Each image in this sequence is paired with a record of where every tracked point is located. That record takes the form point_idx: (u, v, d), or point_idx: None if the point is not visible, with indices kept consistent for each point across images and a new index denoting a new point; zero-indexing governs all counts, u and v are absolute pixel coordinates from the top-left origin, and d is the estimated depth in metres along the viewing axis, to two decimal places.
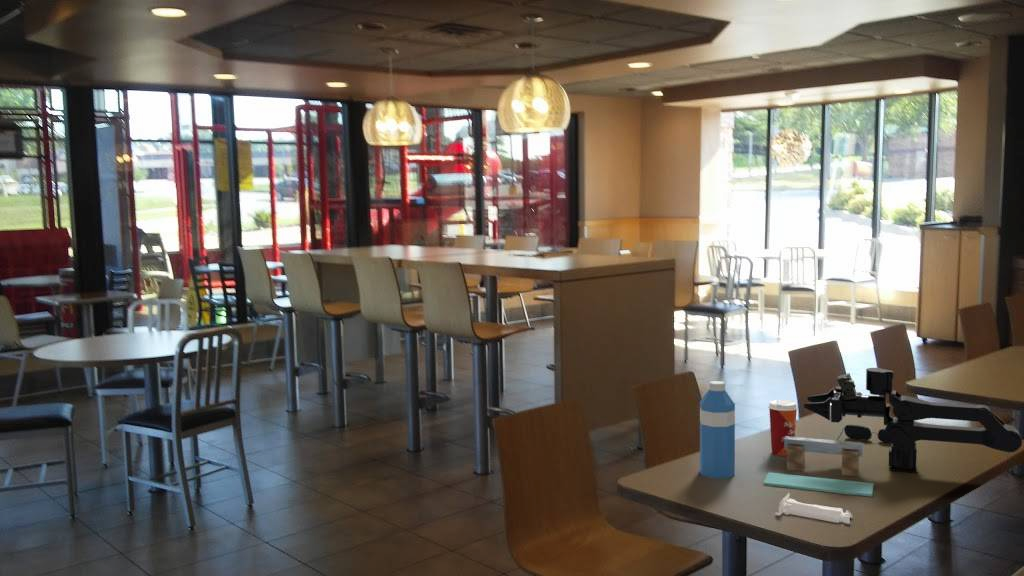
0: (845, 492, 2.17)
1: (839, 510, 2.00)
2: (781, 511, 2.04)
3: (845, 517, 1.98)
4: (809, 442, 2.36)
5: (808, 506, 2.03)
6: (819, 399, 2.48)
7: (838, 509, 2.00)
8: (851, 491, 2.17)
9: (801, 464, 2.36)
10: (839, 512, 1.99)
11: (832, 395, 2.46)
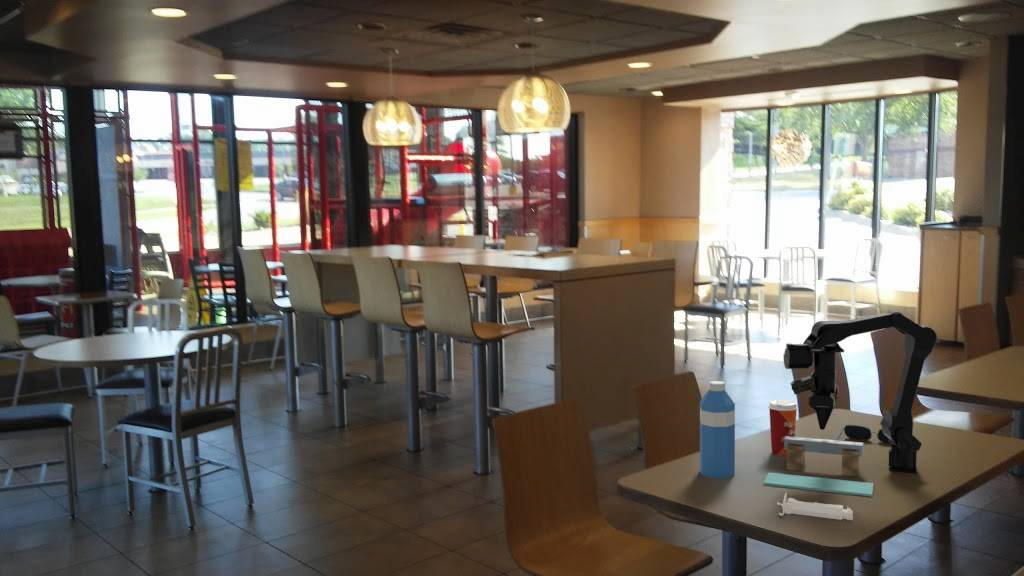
0: (845, 492, 2.17)
1: (841, 507, 2.02)
2: (784, 511, 2.04)
3: (848, 514, 2.00)
4: (809, 442, 2.36)
5: (810, 504, 2.04)
6: None
7: (839, 506, 2.02)
8: (851, 491, 2.17)
9: (801, 464, 2.36)
10: (841, 509, 2.01)
11: None
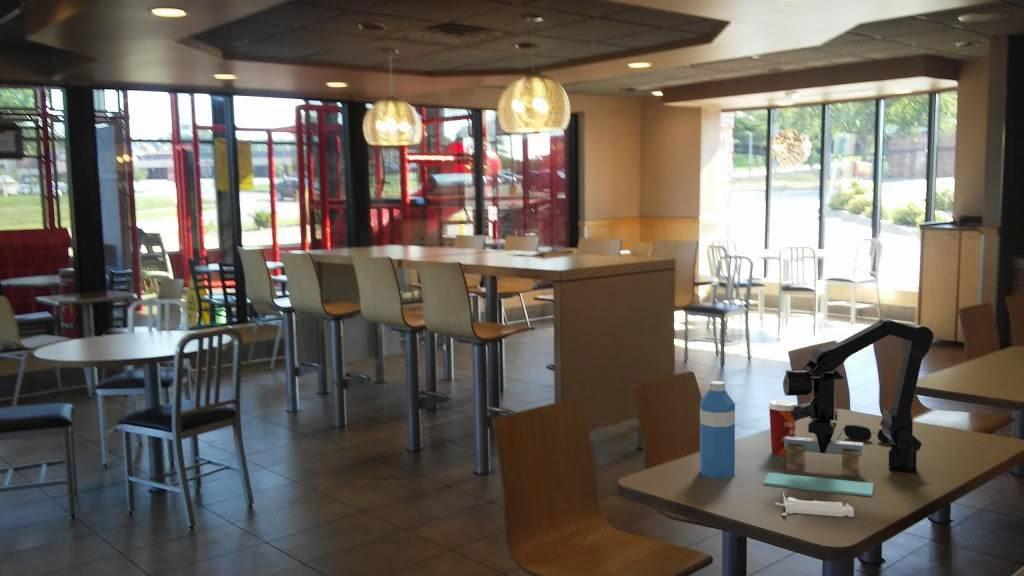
0: (845, 492, 2.17)
1: (841, 504, 2.04)
2: (786, 511, 2.04)
3: (849, 510, 2.02)
4: (809, 442, 2.36)
5: (810, 503, 2.05)
6: None
7: (839, 503, 2.04)
8: (851, 491, 2.17)
9: (801, 464, 2.36)
10: (842, 506, 2.03)
11: None
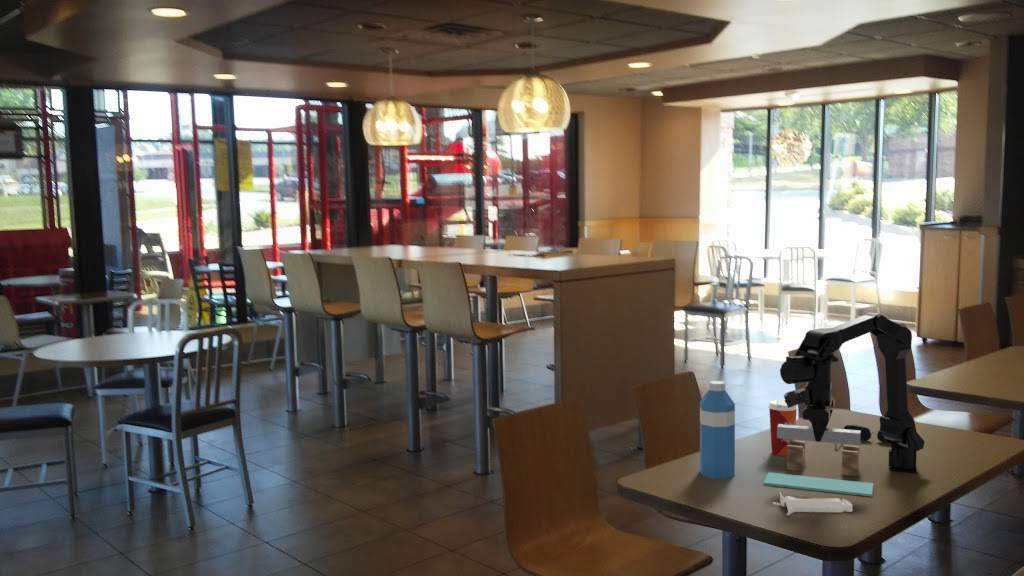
0: (845, 492, 2.17)
1: (839, 500, 2.06)
2: None
3: (848, 506, 2.05)
4: (803, 430, 2.23)
5: (810, 501, 2.06)
6: None
7: (837, 499, 2.07)
8: (851, 491, 2.17)
9: (801, 464, 2.36)
10: (840, 502, 2.06)
11: None
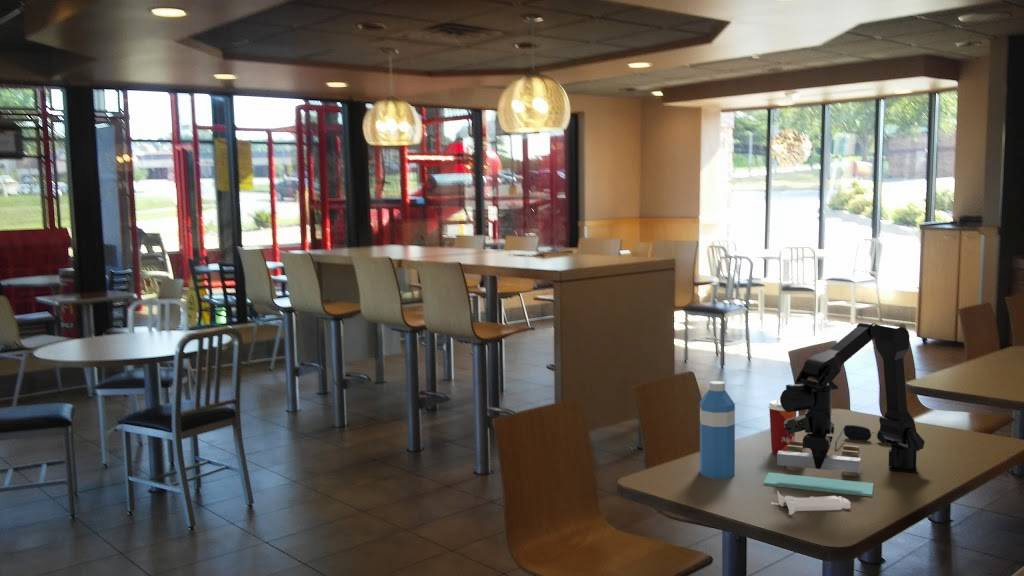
0: (845, 492, 2.17)
1: (837, 497, 2.08)
2: None
3: (846, 503, 2.07)
4: (803, 457, 2.23)
5: (809, 499, 2.07)
6: None
7: (834, 497, 2.09)
8: (851, 491, 2.17)
9: None
10: (839, 499, 2.07)
11: None
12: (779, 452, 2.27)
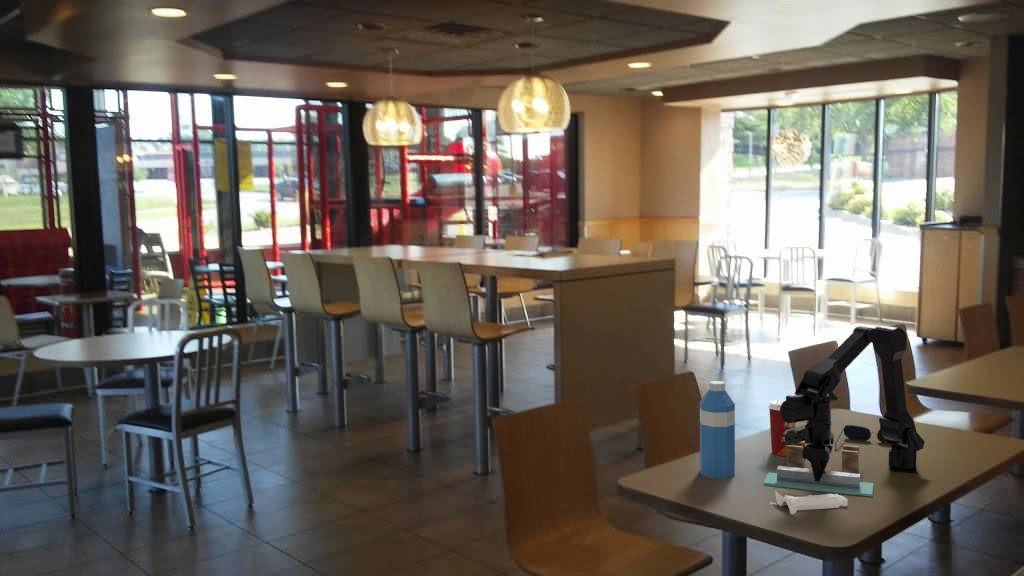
0: (845, 492, 2.17)
1: (834, 495, 2.10)
2: None
3: (843, 500, 2.08)
4: (803, 473, 2.24)
5: (808, 498, 2.08)
6: None
7: (831, 495, 2.10)
8: (851, 491, 2.17)
9: (801, 464, 2.36)
10: (836, 497, 2.09)
11: None
12: (779, 467, 2.27)
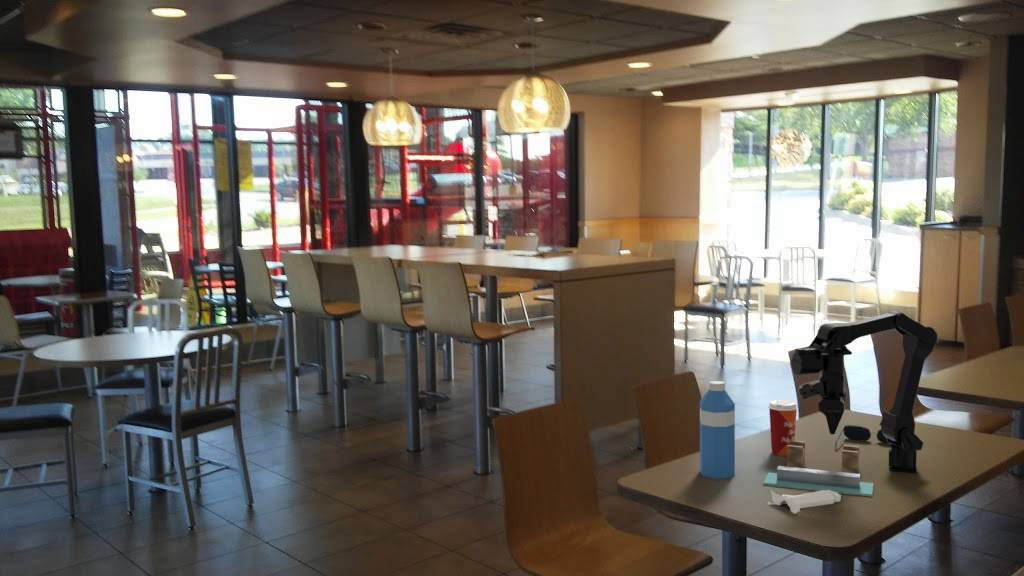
0: (845, 492, 2.17)
1: (827, 492, 2.12)
2: None
3: (837, 496, 2.11)
4: (803, 473, 2.24)
5: (805, 496, 2.10)
6: None
7: (825, 491, 2.13)
8: (851, 491, 2.17)
9: (801, 464, 2.36)
10: (830, 493, 2.12)
11: None
12: (779, 467, 2.27)
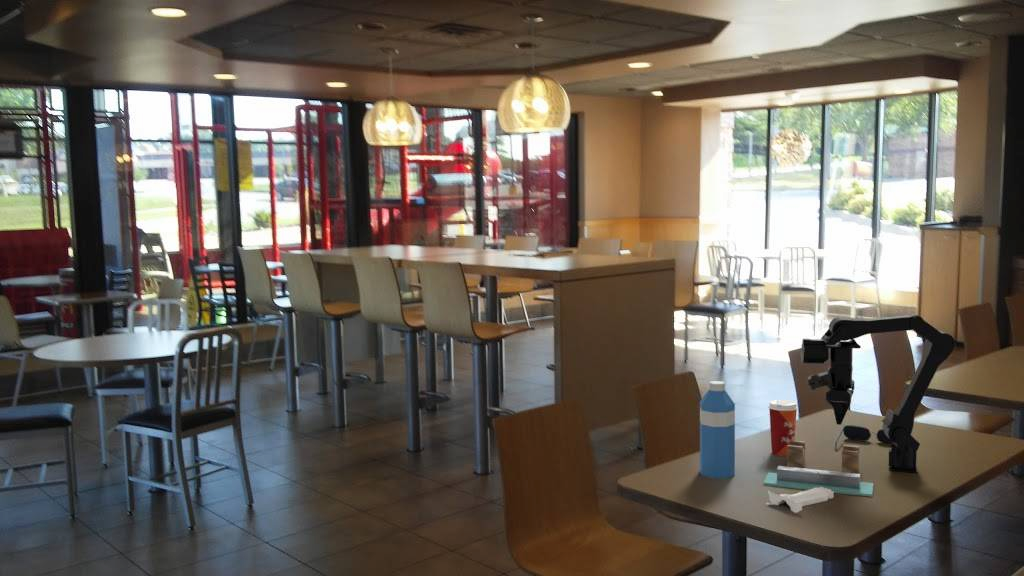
0: (845, 492, 2.17)
1: (821, 489, 2.14)
2: None
3: (830, 493, 2.14)
4: (803, 473, 2.24)
5: (802, 495, 2.11)
6: None
7: (818, 488, 2.15)
8: (851, 491, 2.17)
9: (801, 464, 2.36)
10: (824, 490, 2.14)
11: None
12: (779, 467, 2.27)
